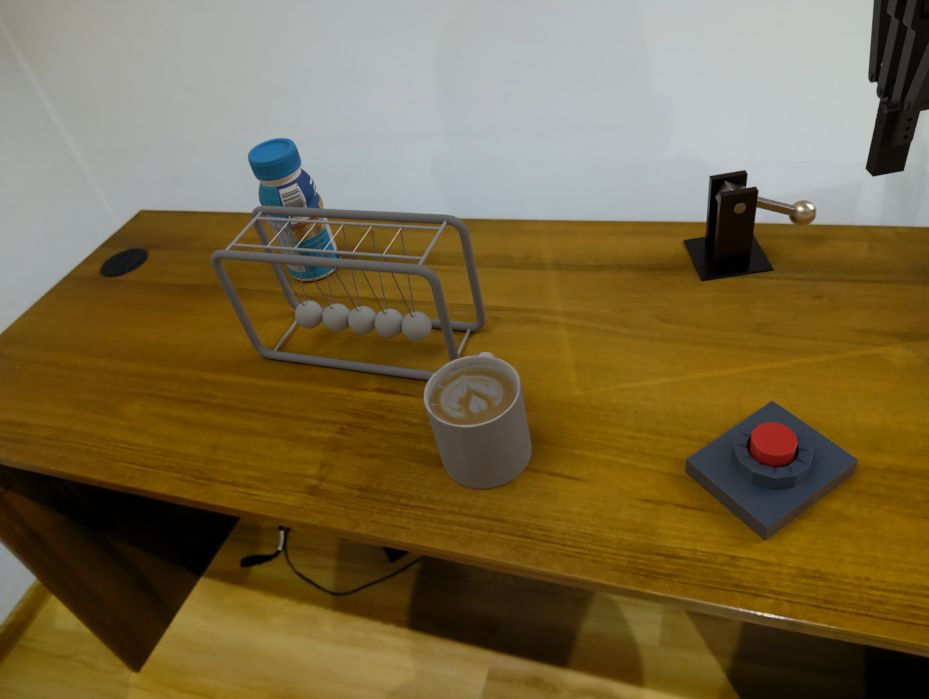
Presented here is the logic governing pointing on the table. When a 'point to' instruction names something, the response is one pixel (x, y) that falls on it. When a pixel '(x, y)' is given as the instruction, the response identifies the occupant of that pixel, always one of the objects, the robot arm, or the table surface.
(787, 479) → the button block
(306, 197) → the beverage bottle
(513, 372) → the coffee mug
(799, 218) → the lever
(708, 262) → the bracket
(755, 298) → the table surface
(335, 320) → the newton's cradle
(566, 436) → the table surface
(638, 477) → the table surface
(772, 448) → the button
